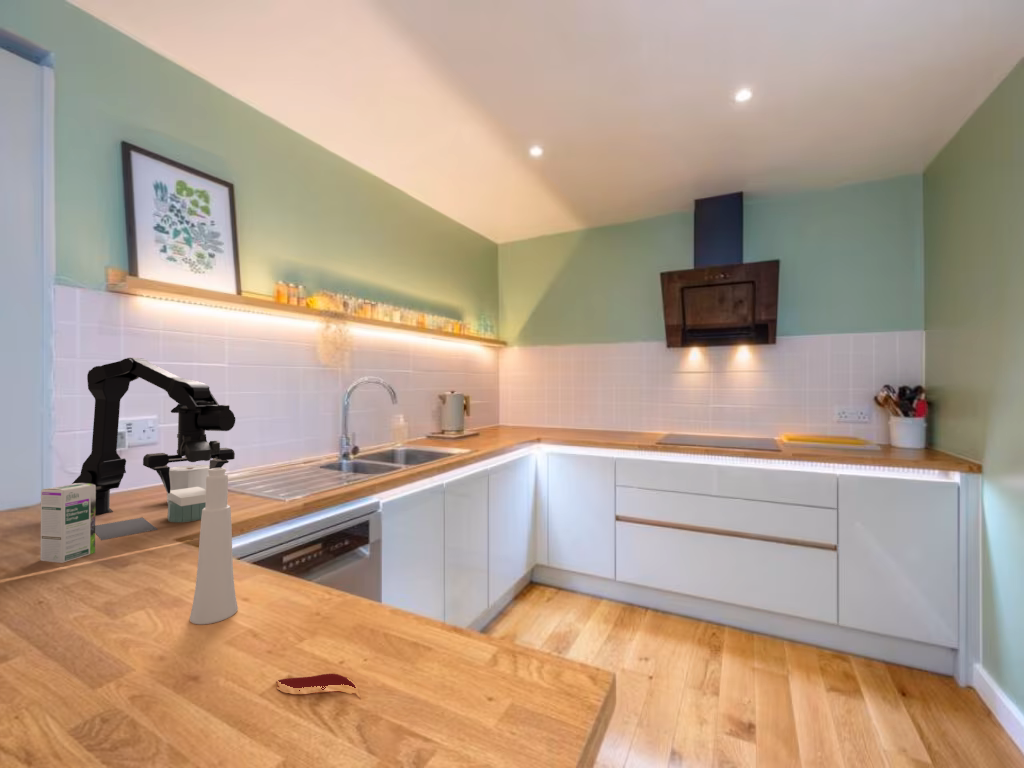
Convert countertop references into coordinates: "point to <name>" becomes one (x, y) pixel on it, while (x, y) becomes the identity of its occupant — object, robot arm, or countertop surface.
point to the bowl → (184, 512)
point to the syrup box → (67, 522)
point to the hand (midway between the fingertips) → (190, 490)
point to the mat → (123, 528)
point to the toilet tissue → (188, 477)
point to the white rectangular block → (187, 496)
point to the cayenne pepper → (317, 681)
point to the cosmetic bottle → (215, 555)
